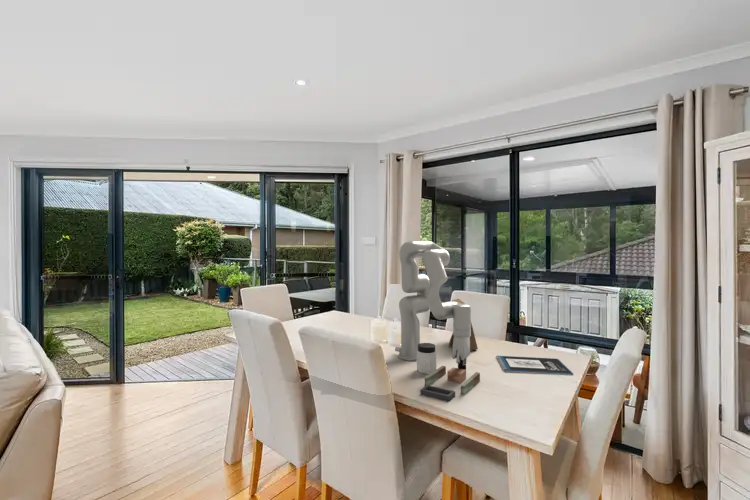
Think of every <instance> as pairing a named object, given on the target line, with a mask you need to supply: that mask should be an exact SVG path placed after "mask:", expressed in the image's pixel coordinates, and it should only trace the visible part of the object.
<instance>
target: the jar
mask: <svg viewBox="0 0 750 500" xmlns="http://www.w3.org/2000/svg"><path fill="white" fill-rule="evenodd" d="M416 370H417V372H419V374H425V375H426V374H427V375H429V374H431V373H432V372H434V371H435V370H437V351H436V345H435V343H431V342H420V344H418V350H417V360H416Z"/></svg>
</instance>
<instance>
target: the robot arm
mask: <svg viewBox="0 0 750 500" xmlns="http://www.w3.org/2000/svg"><path fill="white" fill-rule="evenodd" d="M398 254H399V261H400V273H401V276H400V277H401V278H400V279H401V289H402V291H403V292H404V293H405V294H412V295H407V296H406V295H405V296H404V297H402V298H401V299H400V300H399V303H398V308H399V313H400V334H401V335H400V338H401V339H400V346H395V349H394V351H395V352H398V354H397V355H398V356H397V357H398V359H400V360H402V361H407V362H408V361H411V362H412V361H417V350H418V344H420V343H421V339H420V338H421V337H420V336H421V334H420V332H421V324H420V320H419V318H418V316H417V314H418V315H419V314H423V313H426V312H429V311H430V312H431V314H432V316H433V317H434V318H435V319H436V320H439V321H441V320H442V321H443V320H447V319H452V321H453V322H452V323H453V326H452V327H453V328H452V329H453V332H452V334H453V336H454V339H453V346H452V359H454V360H455V362H456V364H457V368H459V369H464V370H466V371H467V359H468V357H469V356H470V353H471V351H470V338H469V337H470V336H471V323H472V319H471V318H472V315H471V314H472V313H471V312H472V309H471V306H470V304H467V303H465V304H460V303H458V302H455V301H452V300H451V301H442V300H441V297H440V289H441V287H442V285H444V283H446V282H447V281H448V275H447V272H446V270H445V267H446V266H448V265H449V264H450V262H451V256H450V253H449V251H447V250H446V249H445V248H444V247H442V246H440V245H438V244H436V243H435V242H433V241H431V240H408V241H406V242H404V243H403V244H401V246H400V248H399V253H398ZM418 258H421V260H422V263H423V267H424V270H425V271H426V274H425V273H419V267H418V264H417V261H416V260H415V259H418ZM414 293H416V294H414Z"/></svg>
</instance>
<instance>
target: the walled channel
mask: <svg viewBox="0 0 750 500" xmlns="http://www.w3.org/2000/svg"><path fill="white" fill-rule="evenodd" d="M446 369H447V365H441V366H440V367H438V368H436V370H435V371H434V372H432V373H431V374H427V375H426V376H425V377H424V387H425V386H426V385H430V386H432V385H433V384H434V383H435V382H437V381H439V380H440V379H441V378H443V376H445V375H446V373H447V371H446ZM480 379H481V373H480V372H478V371H476V372H474V373H473V374H472V375H471V376H470V377H469V378H467V379H465V380H464V381H463V383H461V385H460V395H462V396H465V395H466V394H468V393H469V392H470V391H471V390H472V389H473V388H474V387H475V386H476V385H477V384H478V383H479V382H480V381H481V380H480Z"/></svg>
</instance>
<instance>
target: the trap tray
mask: <svg viewBox="0 0 750 500" xmlns="http://www.w3.org/2000/svg"><path fill="white" fill-rule="evenodd" d="M419 392H420V393H419V394H420V395H419V396H423V395H424V397H427V398H431V399H436V400H440V401H444V402H448V403H450V402H451V401H452V400H453V399H454V398H455V397H456V391H455V390H451V389H448V388H447V389H446V388H443V387H438V386H434V385H426V386H425V385H424V387H422V388H421V389H420V391H419Z"/></svg>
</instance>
